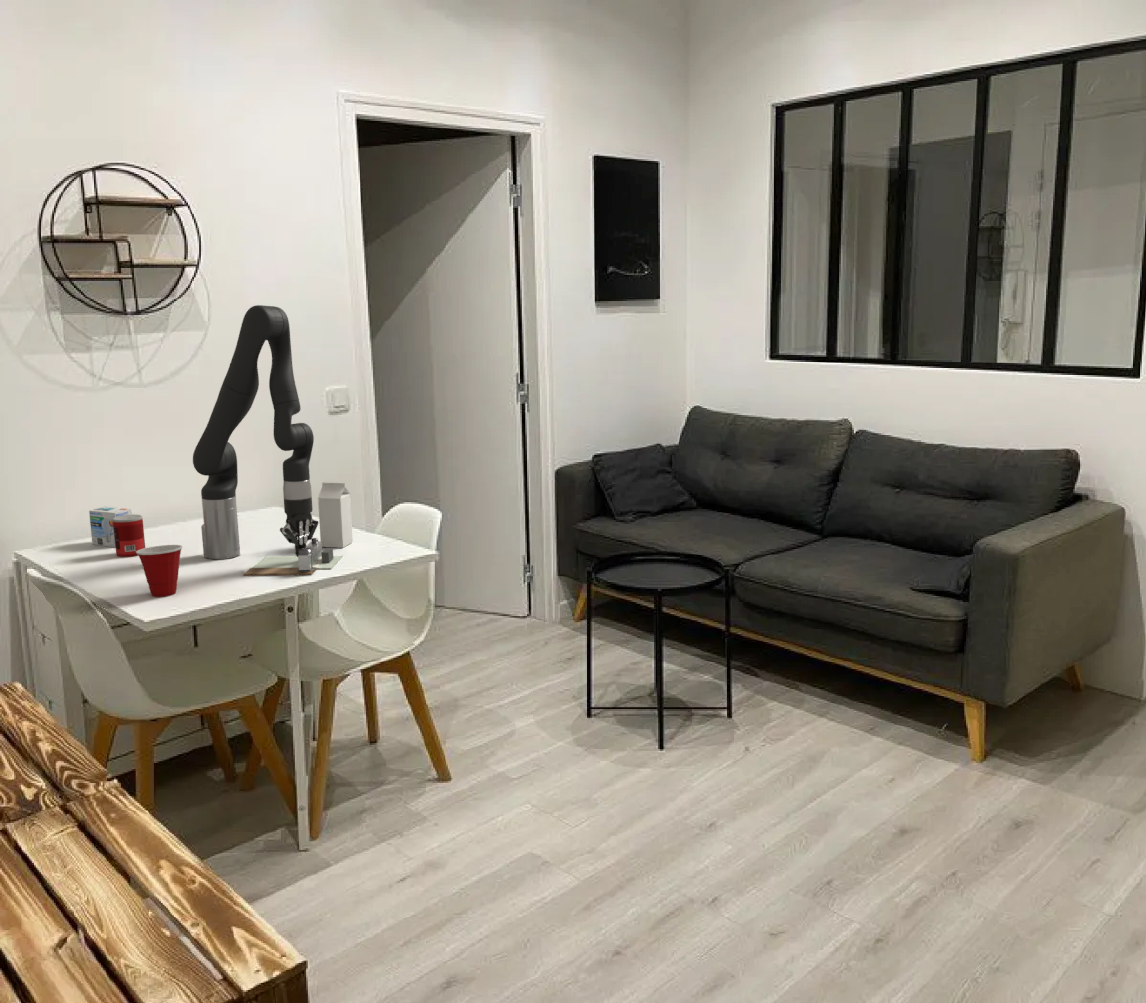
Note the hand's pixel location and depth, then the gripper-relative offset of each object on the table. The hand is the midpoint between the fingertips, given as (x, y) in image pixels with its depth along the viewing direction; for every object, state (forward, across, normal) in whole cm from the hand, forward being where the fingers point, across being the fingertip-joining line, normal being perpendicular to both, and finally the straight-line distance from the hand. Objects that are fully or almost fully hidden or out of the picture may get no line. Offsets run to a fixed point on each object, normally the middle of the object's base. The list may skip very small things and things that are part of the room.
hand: (301, 556), depth 279 cm
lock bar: (+1, -2, -5) cm, 5 cm away
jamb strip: (+2, -10, -2) cm, 11 cm away
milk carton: (+2, +21, +6) cm, 22 cm away
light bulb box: (+2, -10, +68) cm, 69 cm away
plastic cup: (+2, -39, +9) cm, 40 cm away
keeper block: (+2, +4, -6) cm, 7 cm away
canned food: (+2, -16, +52) cm, 54 cm away
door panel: (+2, -1, +1) cm, 2 cm away
